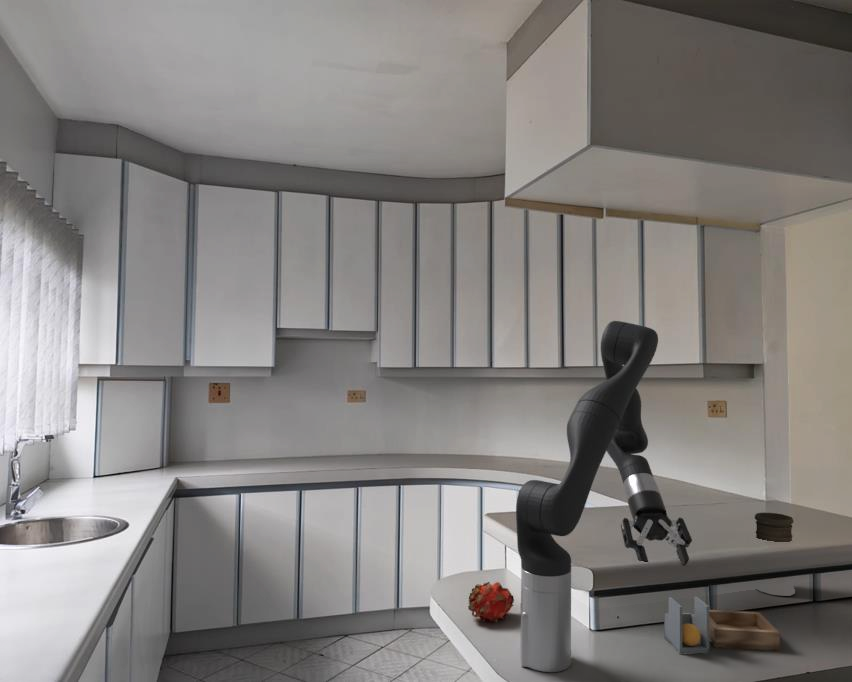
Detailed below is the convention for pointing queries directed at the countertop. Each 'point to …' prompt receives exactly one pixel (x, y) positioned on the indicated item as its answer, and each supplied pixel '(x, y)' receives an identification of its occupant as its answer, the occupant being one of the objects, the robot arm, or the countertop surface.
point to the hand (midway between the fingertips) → (665, 564)
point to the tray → (742, 630)
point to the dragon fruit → (490, 601)
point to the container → (774, 527)
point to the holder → (677, 619)
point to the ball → (690, 635)
